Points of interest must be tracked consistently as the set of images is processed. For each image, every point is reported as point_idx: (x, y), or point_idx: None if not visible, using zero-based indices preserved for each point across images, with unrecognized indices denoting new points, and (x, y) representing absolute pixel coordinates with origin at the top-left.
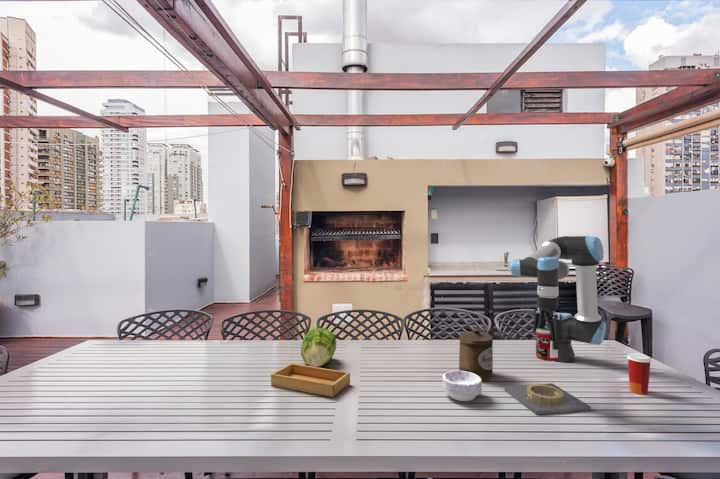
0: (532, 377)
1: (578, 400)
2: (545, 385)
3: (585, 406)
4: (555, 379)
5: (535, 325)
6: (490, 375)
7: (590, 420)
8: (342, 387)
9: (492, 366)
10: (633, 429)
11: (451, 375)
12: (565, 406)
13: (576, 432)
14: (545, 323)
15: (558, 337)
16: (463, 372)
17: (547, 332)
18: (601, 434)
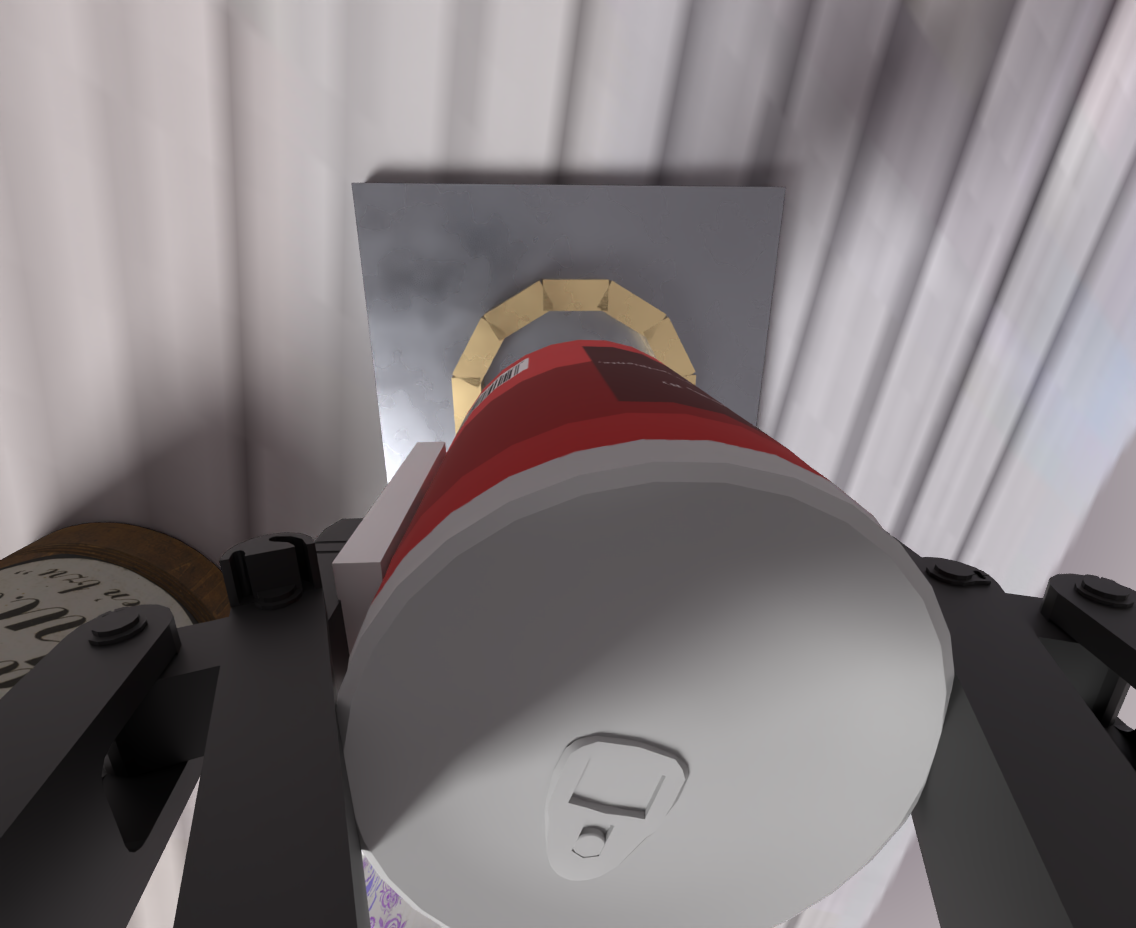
0: (150, 226)
1: (683, 204)
2: (480, 339)
3: (773, 227)
4: (184, 23)
5: (128, 918)
6: (199, 576)
7: (868, 298)
8: None
9: (120, 579)
10: (1041, 109)
11: (378, 895)
12: (737, 366)
13: (932, 465)
14: (359, 923)
15: (1115, 704)
16: (364, 856)
17: (744, 787)
18: (996, 355)
